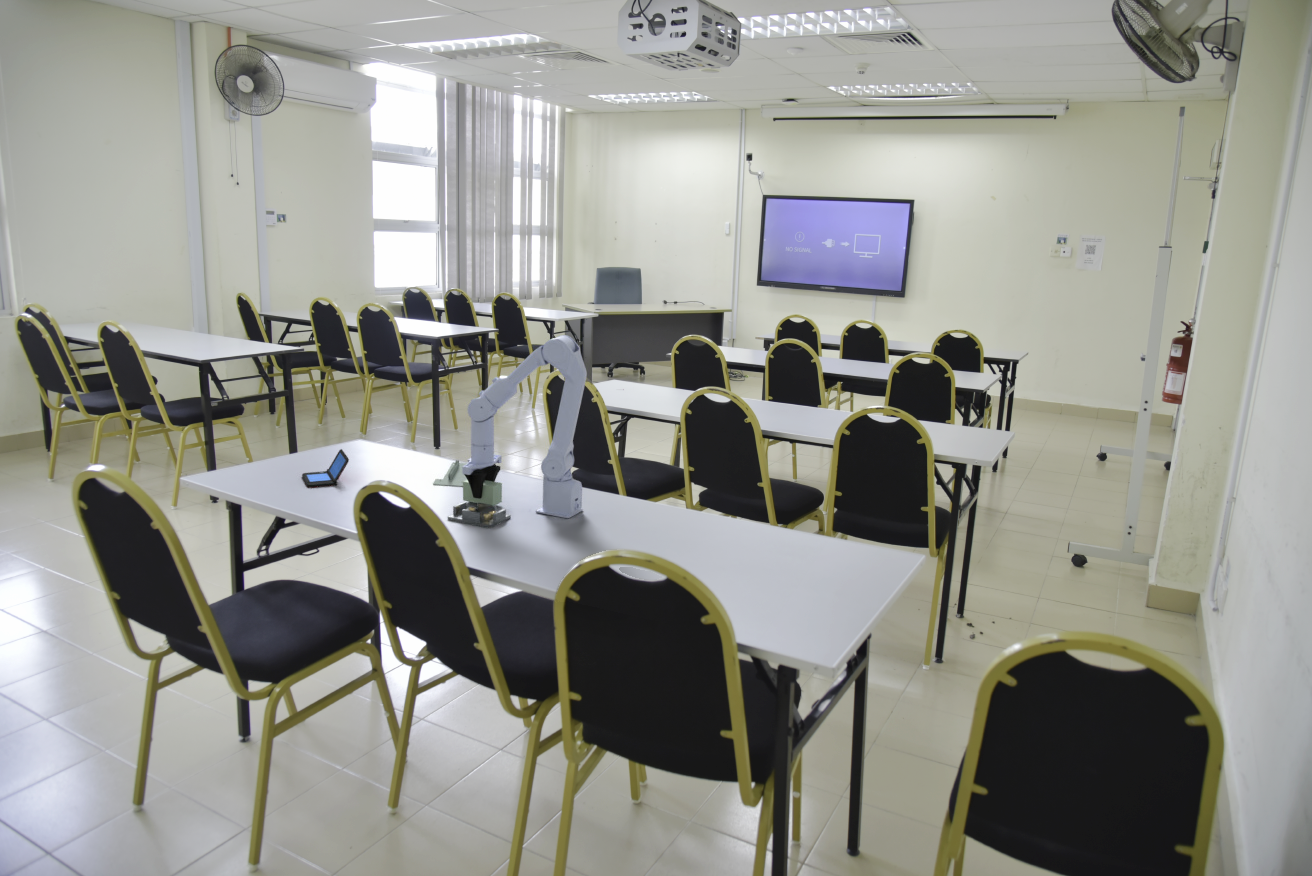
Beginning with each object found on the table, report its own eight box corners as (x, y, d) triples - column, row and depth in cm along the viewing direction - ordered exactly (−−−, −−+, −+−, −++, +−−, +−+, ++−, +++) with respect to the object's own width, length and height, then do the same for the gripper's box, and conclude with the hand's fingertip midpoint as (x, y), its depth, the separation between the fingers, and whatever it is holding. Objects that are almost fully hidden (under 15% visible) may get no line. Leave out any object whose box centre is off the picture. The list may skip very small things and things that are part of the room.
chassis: (510, 517, 210) (510, 507, 209) (490, 528, 201) (490, 516, 201) (469, 510, 214) (469, 499, 213) (447, 519, 206) (447, 508, 205)
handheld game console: (301, 477, 236) (300, 451, 234) (342, 473, 241) (341, 448, 239) (307, 489, 225) (306, 462, 224) (350, 485, 230) (349, 458, 229)
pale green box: (501, 501, 219) (501, 481, 218) (493, 505, 215) (493, 485, 214) (472, 496, 222) (472, 476, 221) (463, 500, 219) (463, 480, 217)
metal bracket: (446, 455, 244) (497, 458, 244) (447, 472, 247) (499, 475, 246) (430, 481, 232) (485, 485, 231) (432, 499, 235) (486, 503, 234)
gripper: (485, 436, 223) (485, 486, 226) (451, 447, 210) (452, 500, 213) (508, 439, 221) (508, 490, 224) (476, 451, 208) (476, 504, 211)
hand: (482, 495), depth 218 cm, fingers closed on pale green box, 4 cm apart
